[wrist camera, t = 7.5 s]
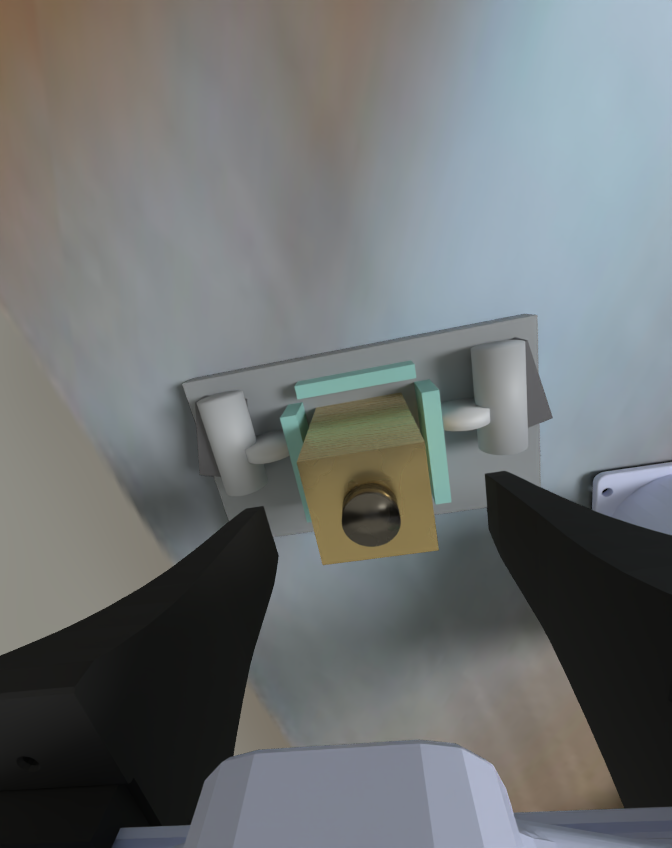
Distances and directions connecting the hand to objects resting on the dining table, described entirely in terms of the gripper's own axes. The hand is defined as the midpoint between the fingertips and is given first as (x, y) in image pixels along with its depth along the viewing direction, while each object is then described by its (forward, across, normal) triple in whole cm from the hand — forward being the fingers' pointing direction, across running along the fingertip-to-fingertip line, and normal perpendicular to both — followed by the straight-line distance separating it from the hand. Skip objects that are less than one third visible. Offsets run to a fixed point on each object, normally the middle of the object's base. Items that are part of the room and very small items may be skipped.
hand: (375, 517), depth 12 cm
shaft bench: (+7, 0, 0) cm, 7 cm away
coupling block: (+6, 0, 0) cm, 6 cm away
